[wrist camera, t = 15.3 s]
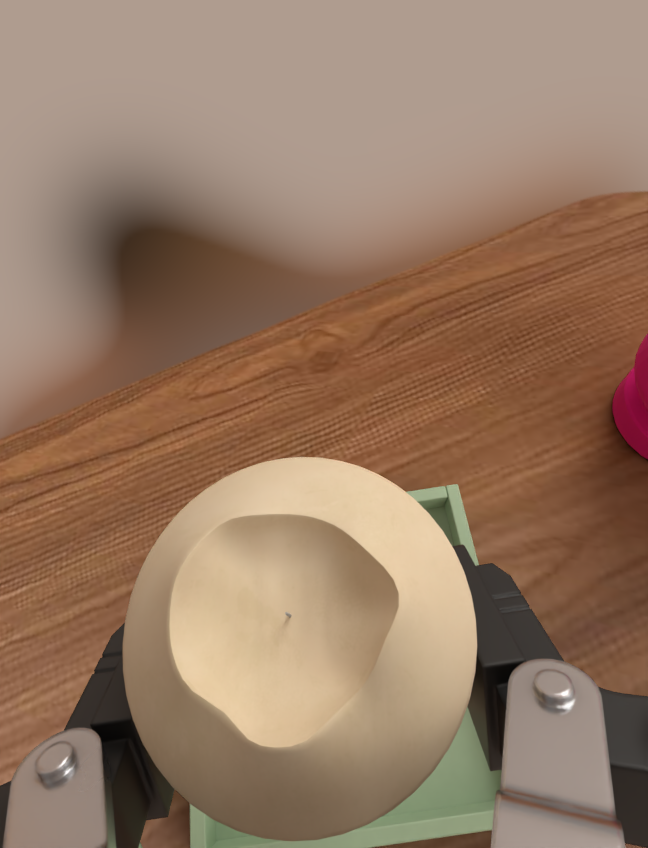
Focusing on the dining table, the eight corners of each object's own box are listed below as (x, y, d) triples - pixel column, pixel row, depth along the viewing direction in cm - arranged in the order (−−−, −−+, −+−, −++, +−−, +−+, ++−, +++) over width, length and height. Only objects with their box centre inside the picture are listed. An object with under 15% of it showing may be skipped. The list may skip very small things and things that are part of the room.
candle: (419, 557, 17) (470, 412, 8) (434, 760, 14) (534, 889, 5) (249, 559, 17) (115, 424, 8) (236, 756, 15) (23, 871, 6)
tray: (205, 857, 21) (190, 874, 19) (197, 535, 27) (185, 525, 25) (531, 810, 21) (546, 822, 19) (451, 496, 27) (458, 483, 25)
